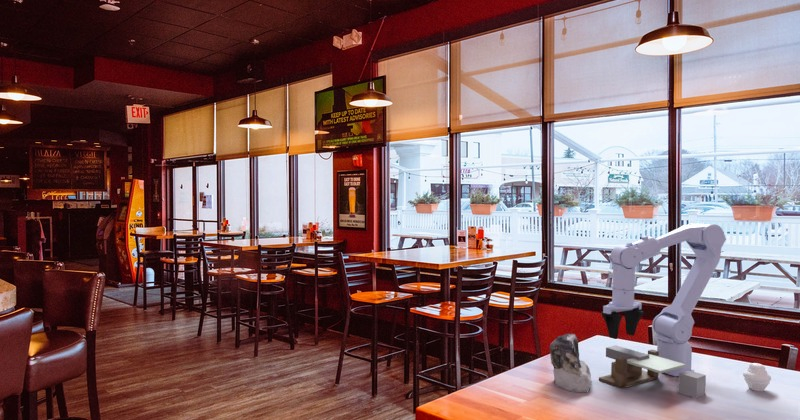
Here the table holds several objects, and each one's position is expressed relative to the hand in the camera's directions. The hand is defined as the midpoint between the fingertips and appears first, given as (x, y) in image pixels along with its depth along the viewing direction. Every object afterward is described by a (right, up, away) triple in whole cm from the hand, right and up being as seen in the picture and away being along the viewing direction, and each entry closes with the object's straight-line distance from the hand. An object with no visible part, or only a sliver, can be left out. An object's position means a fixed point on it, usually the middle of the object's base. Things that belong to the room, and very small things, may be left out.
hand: (621, 336), depth 152 cm
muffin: (+31, -11, -11) cm, 35 cm away
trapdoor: (+2, -6, -8) cm, 10 cm away
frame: (0, -11, -5) cm, 12 cm away
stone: (-18, -11, -9) cm, 23 cm away
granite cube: (+12, -11, -15) cm, 22 cm away
